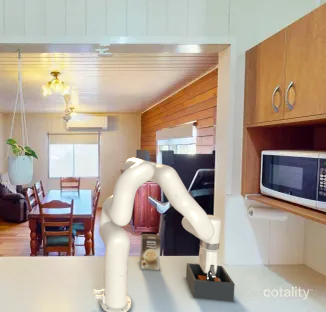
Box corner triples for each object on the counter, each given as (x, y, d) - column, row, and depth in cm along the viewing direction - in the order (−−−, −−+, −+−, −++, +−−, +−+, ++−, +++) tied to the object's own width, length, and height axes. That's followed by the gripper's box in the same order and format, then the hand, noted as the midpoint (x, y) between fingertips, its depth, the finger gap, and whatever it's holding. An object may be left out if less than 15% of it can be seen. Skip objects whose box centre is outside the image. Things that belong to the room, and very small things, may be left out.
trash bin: (193, 297, 102) (194, 280, 101) (186, 278, 116) (186, 263, 115) (233, 301, 100) (234, 284, 99) (221, 281, 113) (222, 265, 112)
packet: (200, 290, 106) (200, 281, 105) (197, 283, 111) (197, 275, 110) (222, 292, 104) (223, 283, 104) (218, 285, 109) (218, 276, 109)
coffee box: (141, 269, 123) (141, 238, 122) (139, 262, 130) (140, 233, 128) (159, 270, 123) (160, 239, 121) (157, 263, 129) (158, 234, 127)
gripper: (194, 235, 115) (192, 271, 117) (206, 253, 98) (203, 294, 100) (211, 236, 114) (208, 273, 116) (226, 254, 97) (223, 297, 98)
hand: (206, 282), depth 107 cm, fingers open, 6 cm apart
